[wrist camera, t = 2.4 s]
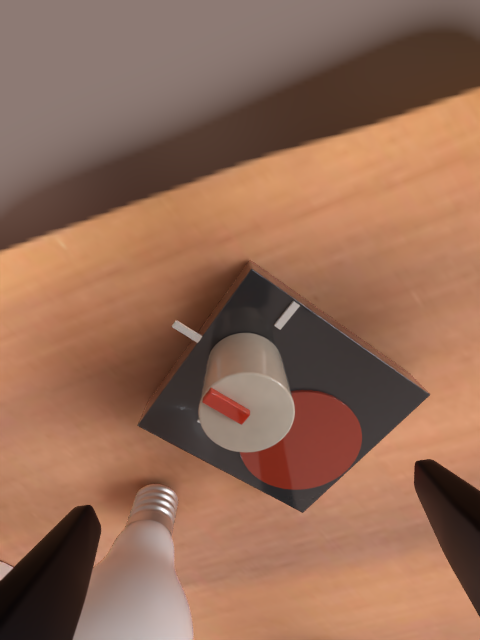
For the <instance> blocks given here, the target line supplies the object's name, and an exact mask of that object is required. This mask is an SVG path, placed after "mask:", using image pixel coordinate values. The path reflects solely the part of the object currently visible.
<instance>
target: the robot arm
mask: <svg viewBox="0 0 480 640" xmlns="http://www.w3.org/2000/svg"><path fill="white" fill-rule="evenodd" d="M414 486H415V490H416V493H417V495H418V497H419V500H420V502H421V504H422V506H423V508H424V511H425V513H426V515H427V517H428V519H429V522H430V524H431V526H432V528H433V530H434V533H435V535H436V537H437V539H438V541H439V544H440V546H441V548H442V550H443V552H444V554H445V556H446V558H447V560H448V562H449V564H450V565H451V567H452V569H453V571H454V572H455V574H456V576H457V578H458V579H459V581H460V583H461V585H462V587H463V588H464V590H465V592H466V594H467V595H468V597H469V599H470V601H471V602H472V604H473V606H474V608H475V609H476V611H477V613H478V615H479V616H480V491H479V490H478V489H476V488H475V487H473V486H472V485H470V484H469V483H467V482H466V481H464V480H463V479H461V478H460V477H458V476H457V475H455V474H454V473H452V472H451V471H449V470H448V469H446V468H445V467H443V466H442V465H440V464H439V463H437V462H436V461H434V460H431V459H427V460H420V461H416V463H415V472H414ZM100 534H101V525H100V522H99V520H98V518H97V516H96V513H95V511H94V509H93V507H92V506H90V505H83V506H77V507H75V508H74V509H73V510H71V511H70V512H69V513H68V514H67V515H66V516H65V517H64V518H63V519H62V520H61V521H60V522H59V523H58V524H57V525H56V526H55V527H54V528H53V529H52V530H51V531H50V532H49V533H48V534H47V535H46V536H45V537H44V538H43V539H42V540H41V541H40V542H39V543H38V544H37V545H36V546H35V547H34V548H33V549H32V550H31V551H30V552H29V553H28V554H27V555H26V556H25V557H24V558H23V559H22V560H21V561H20V562H19V563H18V564H17V565H16V566H15V567H14V568H13V569H12V570H11V571H10V572H9V573H8V574H7V575H6V576H5V577H4V578H3V579H1V580H0V640H73V637H74V634H75V631H76V628H77V624H78V621H79V618H80V615H81V612H82V609H83V605H84V602H85V599H86V595H87V591H88V587H89V583H90V578H91V574H92V570H93V565H94V561H95V556H96V552H97V548H98V543H99V539H100Z"/></svg>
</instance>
